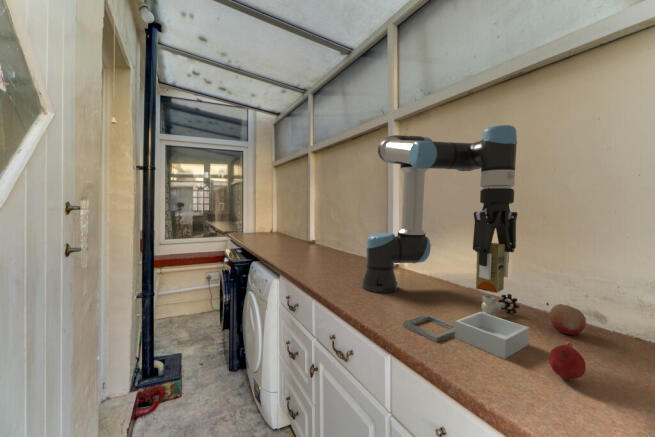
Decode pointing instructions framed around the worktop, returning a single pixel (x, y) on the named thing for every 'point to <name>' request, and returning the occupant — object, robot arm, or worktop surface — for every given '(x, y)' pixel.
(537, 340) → the worktop surface
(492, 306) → the valve
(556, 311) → the fruit
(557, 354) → the onion
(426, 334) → the collar
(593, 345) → the worktop surface
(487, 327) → the tray
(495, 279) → the shoe polish box
